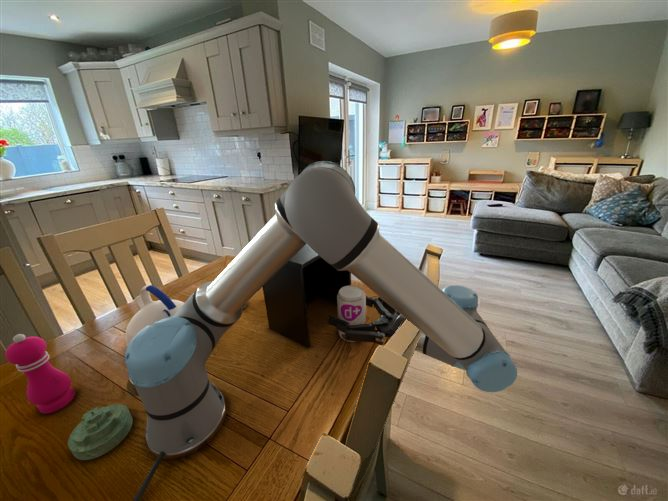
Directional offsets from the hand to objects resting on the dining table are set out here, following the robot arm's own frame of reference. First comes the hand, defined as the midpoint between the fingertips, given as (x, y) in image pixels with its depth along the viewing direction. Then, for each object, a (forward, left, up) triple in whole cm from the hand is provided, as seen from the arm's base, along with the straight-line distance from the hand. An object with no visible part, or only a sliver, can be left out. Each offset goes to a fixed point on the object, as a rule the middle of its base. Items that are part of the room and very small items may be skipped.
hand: (342, 307), depth 82 cm
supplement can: (-1, -3, -9) cm, 9 cm away
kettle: (-13, +54, -9) cm, 56 cm away
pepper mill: (-38, +62, -9) cm, 73 cm away
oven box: (+4, +11, -8) cm, 14 cm away
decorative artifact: (-42, +43, -9) cm, 60 cm away
